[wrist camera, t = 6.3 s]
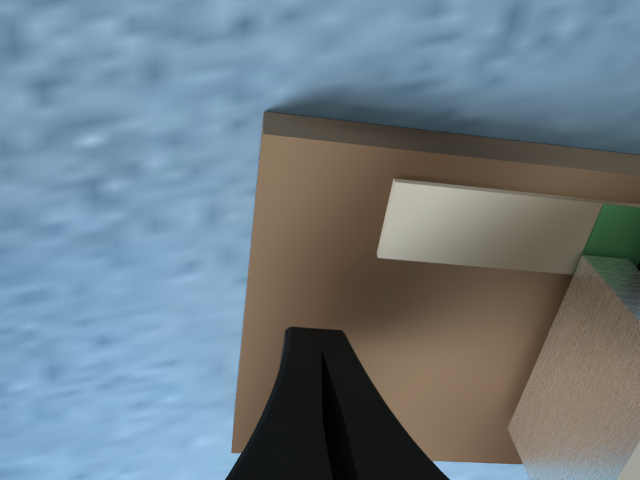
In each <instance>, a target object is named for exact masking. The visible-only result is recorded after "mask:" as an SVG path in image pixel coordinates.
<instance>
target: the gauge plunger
mask: <svg viewBox="0 0 640 480" xmlns="http://www.w3.org/2000/svg"><path fill="white" fill-rule="evenodd" d="M508 431H509V433H510V435H511V437H512V440H513V442H514V444H515V447H516V449H517V451H518V453H519V456H520V458H521V460H522V463H523V465H524V467H525V469H526V472H527V474H528V476H529V479H530V480H640V261H639V264H638V266H637V268H636V267H635V266H634V264H633V263H632V262H631V261H630V260H629V259H622V258H611V257H600V256H589V255H582V257H581V259H580V262H579V264H578V266H577V269H576V271H575V273H574V276H573V278H572V280H571V283H570V285H569V287H568V290H567V292H566V294H565V297H564V299H563V301H562V303H561V306H560V308H559V310H558V313H557V315H556V317H555V320H554V322H553V324H552V327H551V329H550V331H549V334H548V336H547V338H546V341H545V343H544V345H543V348H542V350H541V352H540V354H539V357H538V359H537V361H536V364H535V366H534V368H533V371H532V373H531V375H530V378H529V380H528V382H527V385H526V387H525V389H524V392H523V394H522V396H521V398H520V401H519V403H518V405H517V408H516V410H515V412H514V415H513V417H512V419H511V422H510V424H509V426H508Z"/></svg>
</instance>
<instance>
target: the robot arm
mask: <svg viewBox="0 0 640 480" xmlns="http://www.w3.org/2000/svg"><path fill="white" fill-rule="evenodd" d="M225 480H450V479H449V478H448V477H447V476H446V475H444V474H443V473H442V472H441V471H440V469H439V468H438V467H437V466H436V465H435V464H434V463H433V462H432V461H431V460H430V459H429V458H428V456H427V455H426V454H425V453H424V452H423V451H422V449H421V448H420V447H419V446H418V445H417V444H416V442H415V441H414V440H413V439H412V438H411V436H410V435H409V434H408V432H407V431H406V430H405V429H404V427H403V426H402V425H401V423H400V422H399V421H398V419H397V418H396V417H395V415H394V414H393V412H392V411H391V410H390V408H389V407H388V405H387V404H386V402H385V401H384V399H383V398H382V396H381V395H380V393H379V392H378V390H377V389H376V387H375V386H374V384H373V382H372V381H371V379H370V378H369V376H368V374H367V373H366V371H365V369H364V368H363V366H362V364H361V362H360V361H359V359H358V357H357V355H356V353H355V352H354V350H353V348H352V346H351V344H350V342H349V340H348V338H347V336H346V334H345V333H344V332H343V331H342V330H332V329H318V328H305V327H289V328H288V329H286V330H285V334H284V341H283V347H282V354H281V361H280V367H279V372H278V375H277V378H276V381H275V384H274V387H273V389H272V392H271V394H270V397H269V399H268V401H267V404H266V406H265V408H264V411H263V413H262V415H261V417H260V419H259V421H258V423H257V426H256V428H255V430H254V431H253V433H252V435H251V437H250V439H249V441H248V443H247V445H246V446H245V448H244V450H243V452H242V453H241V455H240V457H239V458H238V460H237V462H236V463H235V465H234V467H233V468H232V470H231V471H230V473H229V474H228V476H227V478H226V479H225Z"/></svg>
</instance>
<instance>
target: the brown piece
mask: <svg viewBox="0 0 640 480" xmlns="http://www.w3.org/2000/svg"><path fill="white" fill-rule="evenodd" d="M582 255H589V256H600V257H611V258H622V259H629V260H630V261H631V262H632V263H633V264H634V266H635V267H636V268H637V266H638V264H639V261H640V155H635V154H626V153H618V152H609V151H600V150H592V149H583V148H574V147H566V146H557V145H549V144H540V143H531V142H523V141H514V140H506V139H497V138H488V137H480V136H471V135H463V134H454V133H445V132H437V131H428V130H420V129H411V128H402V127H394V126H385V125H377V124H368V123H359V122H351V121H342V120H334V119H325V118H316V117H308V116H299V115H290V114H282V113H273V112H265V111H264V115H263V125H262V135H261V146H260V156H259V166H258V176H257V187H256V197H255V207H254V217H253V228H252V238H251V248H250V258H249V269H248V279H247V289H246V299H245V310H244V320H243V330H242V340H241V351H240V361H239V371H238V381H237V392H236V402H235V412H234V425H233V439H232V452H231V453H242V452H243V450H244V448H245V446H246V445H247V443H248V441H249V439H250V437H251V435H252V433H253V431H254V430H255V428H256V426H257V423H258V421H259V419H260V417H261V415H262V413H263V411H264V408H265V406H266V404H267V401H268V399H269V397H270V394H271V392H272V389H273V387H274V384H275V381H276V378H277V375H278V372H279V367H280V361H281V354H282V347H283V341H284V334H285V330H286V329H288V328H289V327H305V328H318V329H332V330H342V331H343V332H344V333H345V334H346V336H347V338H348V340H349V342H350V344H351V346H352V348H353V350H354V352H355V353H356V355H357V357H358V359H359V361H360V362H361V364H362V366H363V368H364V369H365V371H366V373H367V374H368V376H369V378H370V379H371V381H372V382H373V384H374V386H375V387H376V389H377V390H378V392H379V393H380V395H381V396H382V398H383V399H384V401H385V402H386V404H387V405H388V407H389V408H390V410H391V411H392V412H393V414H394V415H395V417H396V418H397V419H398V421H399V422H400V423H401V425H402V426H403V427H404V429H405V430H406V431H407V432H408V434H409V435H410V436H411V438H412V439H413V440H414V441H415V442H416V444H417V445H418V446H419V447H420V448H421V449H422V451H423V452H424V453H425V454H426V455H427V456H428V458H429V459H430V460H431V461H451V462H476V463H502V464H523V463H522V460H521V458H520V456H519V453H518V451H517V449H516V447H515V444H514V442H513V440H512V437H511V435H510V433H509V431H508V426H509V424H510V422H511V419H512V417H513V415H514V412H515V410H516V408H517V405H518V403H519V401H520V398H521V396H522V394H523V392H524V389H525V387H526V385H527V382H528V380H529V378H530V375H531V373H532V371H533V368H534V366H535V364H536V361H537V359H538V357H539V354H540V352H541V350H542V348H543V345H544V343H545V341H546V338H547V336H548V334H549V331H550V329H551V327H552V324H553V322H554V320H555V317H556V315H557V313H558V310H559V308H560V306H561V303H562V301H563V299H564V297H565V294H566V292H567V290H568V287H569V285H570V283H571V280H572V278H573V276H574V273H575V271H576V269H577V266H578V264H579V262H580V259H581V257H582Z"/></svg>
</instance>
